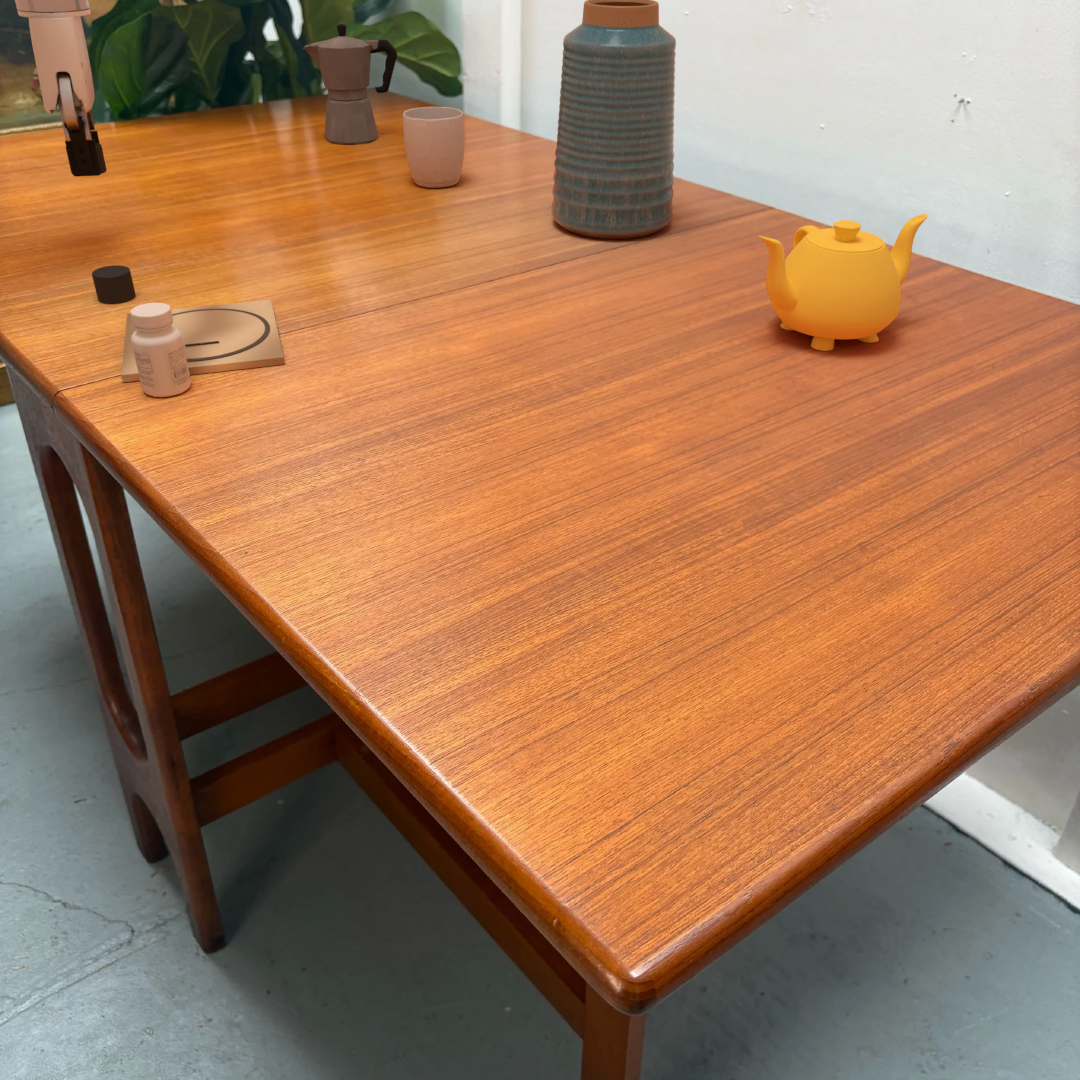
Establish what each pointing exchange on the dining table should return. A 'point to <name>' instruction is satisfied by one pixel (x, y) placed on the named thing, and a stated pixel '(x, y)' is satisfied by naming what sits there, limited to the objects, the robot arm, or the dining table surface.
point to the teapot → (839, 281)
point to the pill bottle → (159, 351)
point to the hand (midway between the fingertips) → (88, 169)
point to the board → (219, 338)
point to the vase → (616, 123)
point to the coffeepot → (350, 84)
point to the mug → (434, 145)
